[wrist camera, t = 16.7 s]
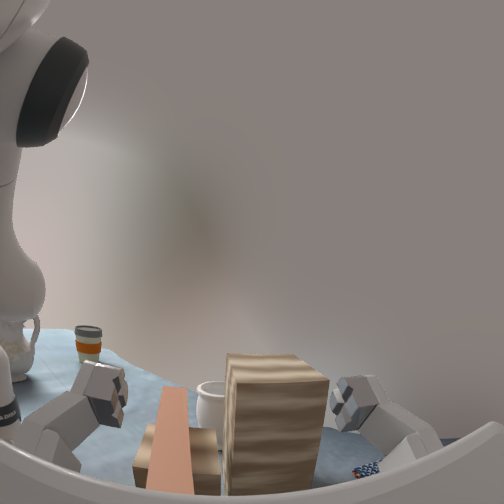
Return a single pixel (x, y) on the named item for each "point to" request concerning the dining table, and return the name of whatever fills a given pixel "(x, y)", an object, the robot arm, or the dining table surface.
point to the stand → (271, 423)
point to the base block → (201, 460)
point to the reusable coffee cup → (88, 343)
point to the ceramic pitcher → (18, 347)
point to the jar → (211, 408)
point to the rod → (171, 445)
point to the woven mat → (367, 470)
